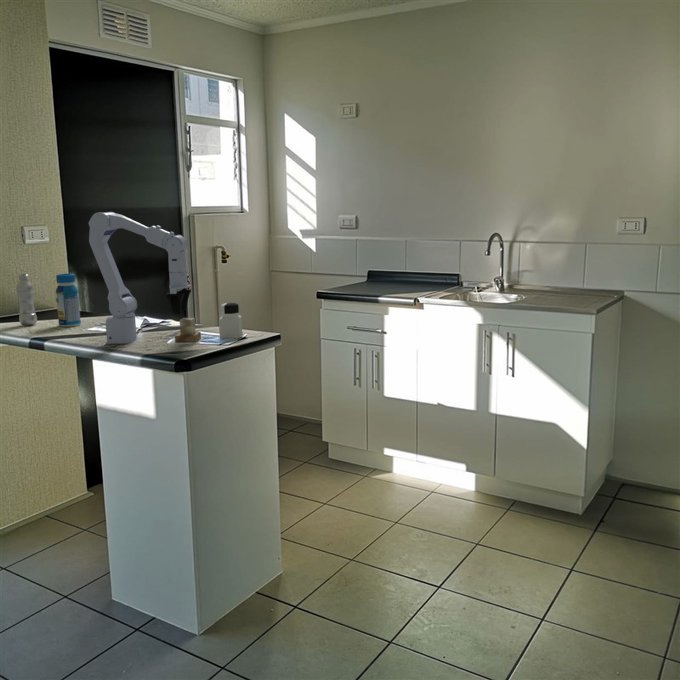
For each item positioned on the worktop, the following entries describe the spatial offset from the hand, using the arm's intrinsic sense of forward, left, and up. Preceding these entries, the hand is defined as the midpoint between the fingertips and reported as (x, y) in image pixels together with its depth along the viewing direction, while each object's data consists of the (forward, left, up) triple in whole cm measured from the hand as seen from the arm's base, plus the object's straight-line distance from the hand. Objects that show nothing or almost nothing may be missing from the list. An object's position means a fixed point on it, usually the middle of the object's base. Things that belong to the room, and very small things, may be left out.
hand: (180, 312), depth 242 cm
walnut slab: (+2, 0, -10) cm, 10 cm away
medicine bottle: (+15, +8, -11) cm, 20 cm away
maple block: (+2, 0, -7) cm, 8 cm away
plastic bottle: (-71, +36, -11) cm, 80 cm away
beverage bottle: (-54, +35, -11) cm, 65 cm away
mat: (+2, 0, -10) cm, 10 cm away
